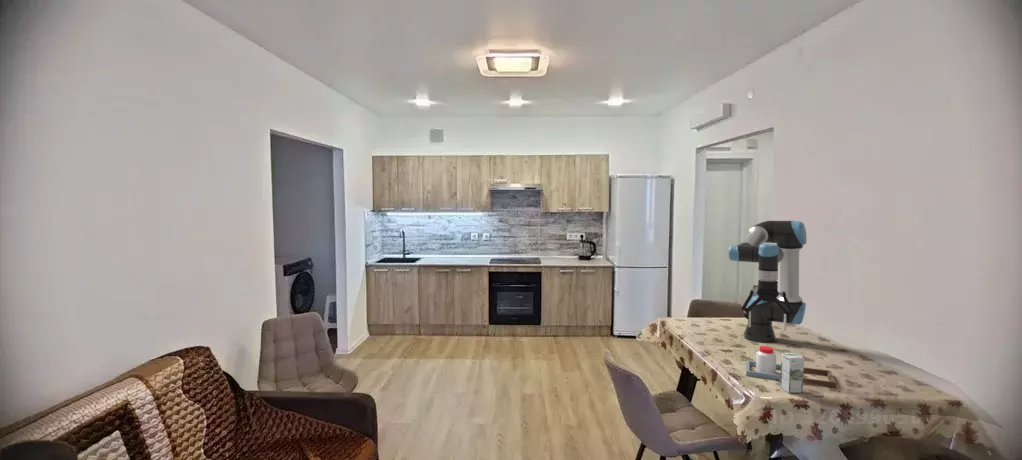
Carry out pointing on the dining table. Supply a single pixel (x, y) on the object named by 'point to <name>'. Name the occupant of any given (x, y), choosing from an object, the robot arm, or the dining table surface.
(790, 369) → the syrup box
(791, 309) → the robot arm
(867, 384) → the dining table surface
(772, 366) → the pill bottle
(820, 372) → the walnut frame
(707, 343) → the dining table surface
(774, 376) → the slate frame
